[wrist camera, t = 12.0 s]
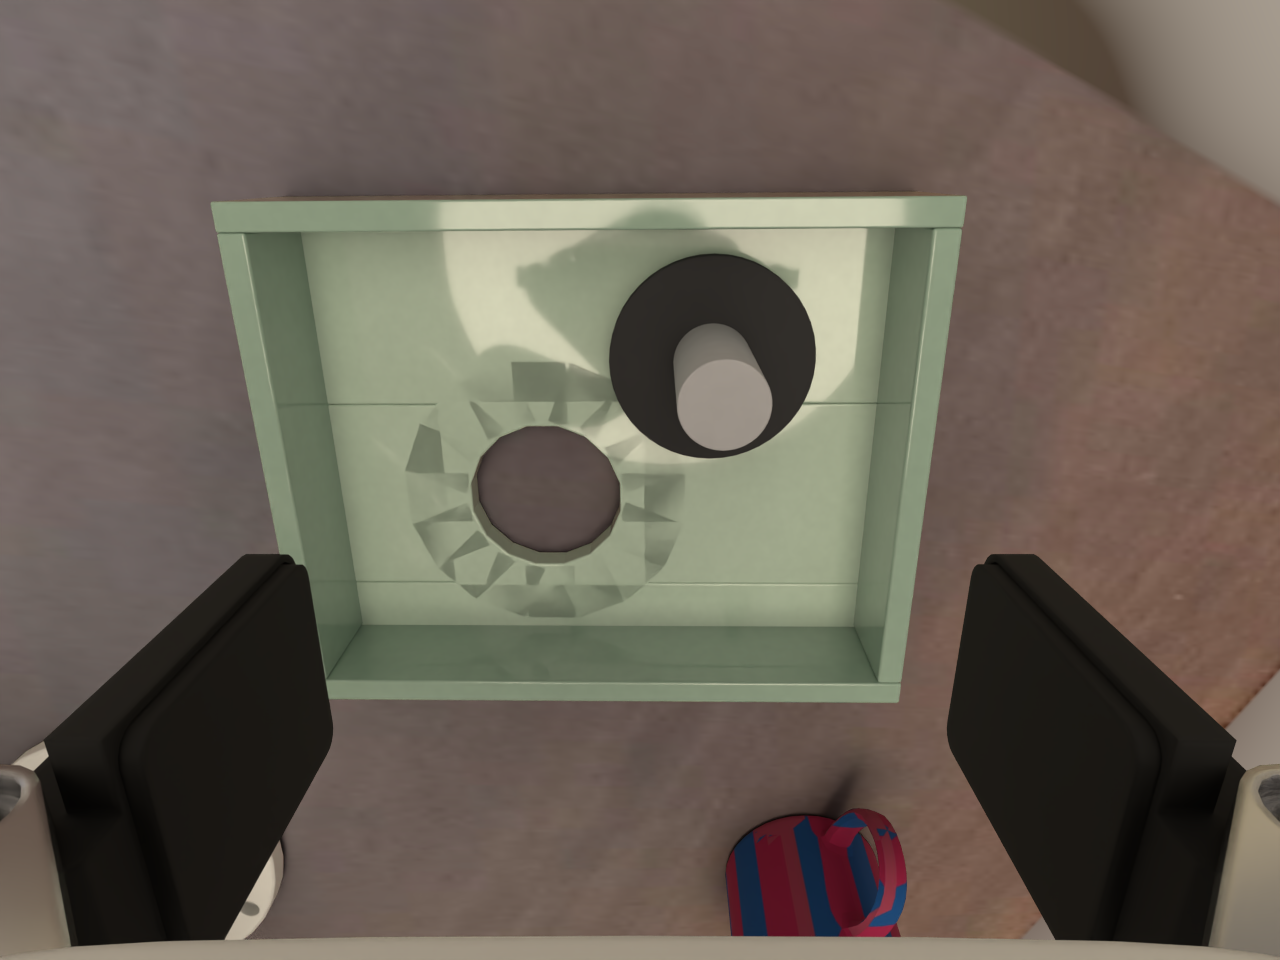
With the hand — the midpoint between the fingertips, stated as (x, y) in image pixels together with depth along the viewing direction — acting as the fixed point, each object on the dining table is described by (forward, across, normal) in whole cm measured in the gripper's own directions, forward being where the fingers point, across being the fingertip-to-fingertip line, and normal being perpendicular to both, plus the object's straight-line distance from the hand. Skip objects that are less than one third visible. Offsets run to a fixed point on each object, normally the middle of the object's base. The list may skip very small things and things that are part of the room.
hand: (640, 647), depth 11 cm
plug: (+16, +2, +1) cm, 16 cm away
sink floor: (+17, -1, -2) cm, 17 cm away
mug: (+18, +8, -21) cm, 28 cm away
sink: (+17, -1, -2) cm, 17 cm away
